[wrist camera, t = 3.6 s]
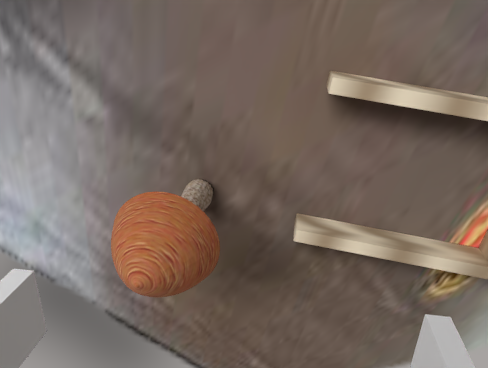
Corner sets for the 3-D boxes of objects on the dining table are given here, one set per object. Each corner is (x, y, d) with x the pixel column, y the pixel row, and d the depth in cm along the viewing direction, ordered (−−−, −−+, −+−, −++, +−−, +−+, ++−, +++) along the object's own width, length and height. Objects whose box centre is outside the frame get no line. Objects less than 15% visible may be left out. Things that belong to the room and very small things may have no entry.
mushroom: (162, 135, 36) (78, 216, 22) (248, 156, 36) (215, 251, 22) (153, 210, 39) (74, 319, 26) (230, 230, 39) (193, 350, 26)
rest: (294, 224, 38) (293, 241, 35) (330, 70, 32) (332, 77, 29) (486, 261, 37) (501, 281, 34) (562, 110, 31) (587, 120, 28)
